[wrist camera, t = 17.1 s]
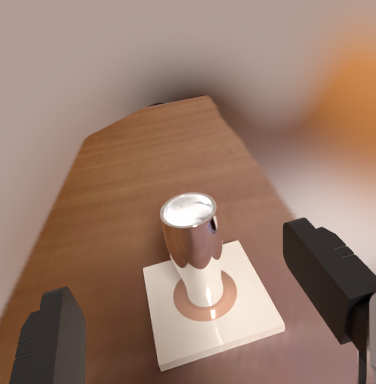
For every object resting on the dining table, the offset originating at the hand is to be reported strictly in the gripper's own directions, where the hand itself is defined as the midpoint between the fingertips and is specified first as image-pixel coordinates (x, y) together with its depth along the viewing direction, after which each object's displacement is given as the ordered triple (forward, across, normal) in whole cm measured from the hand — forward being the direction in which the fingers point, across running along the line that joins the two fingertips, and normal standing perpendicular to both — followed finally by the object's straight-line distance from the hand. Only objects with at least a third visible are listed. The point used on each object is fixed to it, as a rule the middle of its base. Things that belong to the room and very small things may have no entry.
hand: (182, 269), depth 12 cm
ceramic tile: (+21, -3, +30) cm, 37 cm away
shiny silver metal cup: (+21, -3, +29) cm, 36 cm away
